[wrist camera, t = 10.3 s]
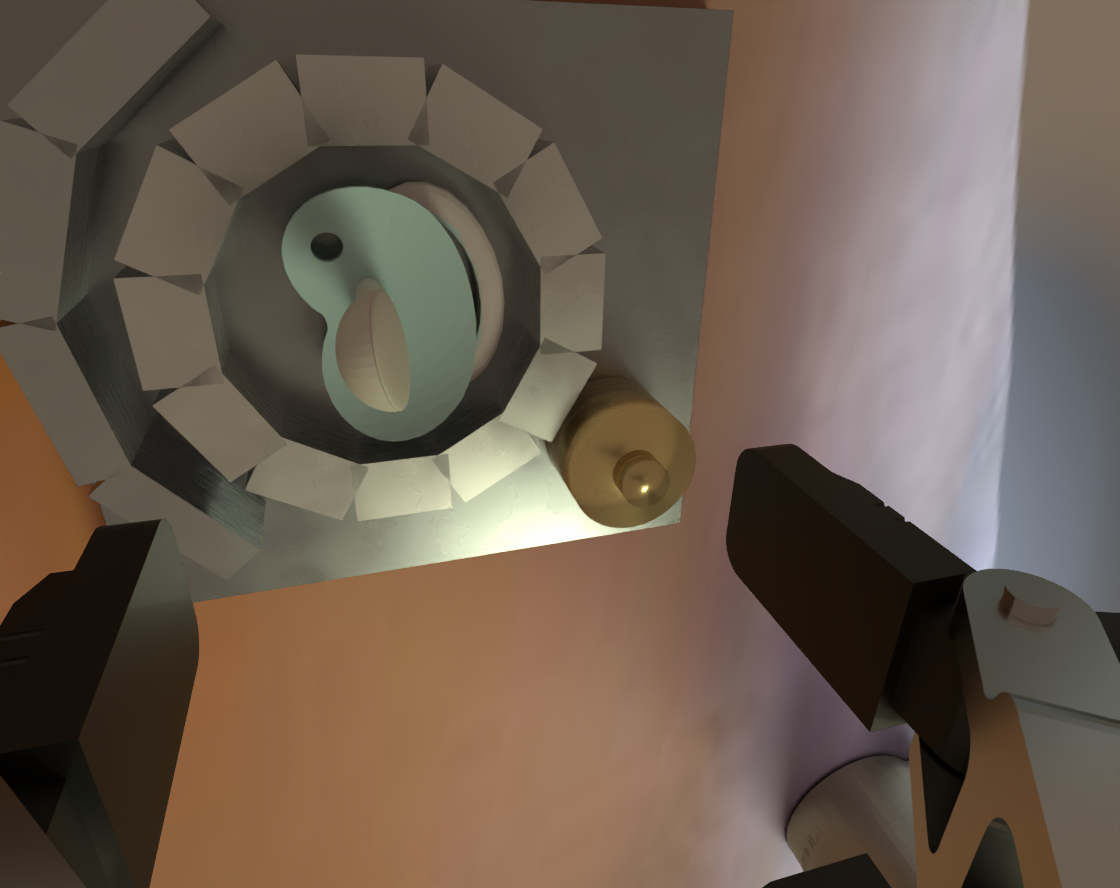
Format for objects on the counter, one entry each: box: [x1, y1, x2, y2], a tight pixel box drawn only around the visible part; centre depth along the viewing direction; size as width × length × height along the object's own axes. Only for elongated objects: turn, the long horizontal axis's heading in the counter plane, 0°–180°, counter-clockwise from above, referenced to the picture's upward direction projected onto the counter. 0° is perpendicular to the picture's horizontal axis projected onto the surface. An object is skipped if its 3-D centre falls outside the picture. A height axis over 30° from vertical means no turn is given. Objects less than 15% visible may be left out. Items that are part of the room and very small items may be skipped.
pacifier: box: [282, 182, 505, 442], centre depth 19 cm, size 7×6×6 cm
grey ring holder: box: [0, 0, 734, 603], centre depth 21 cm, size 20×18×6 cm
